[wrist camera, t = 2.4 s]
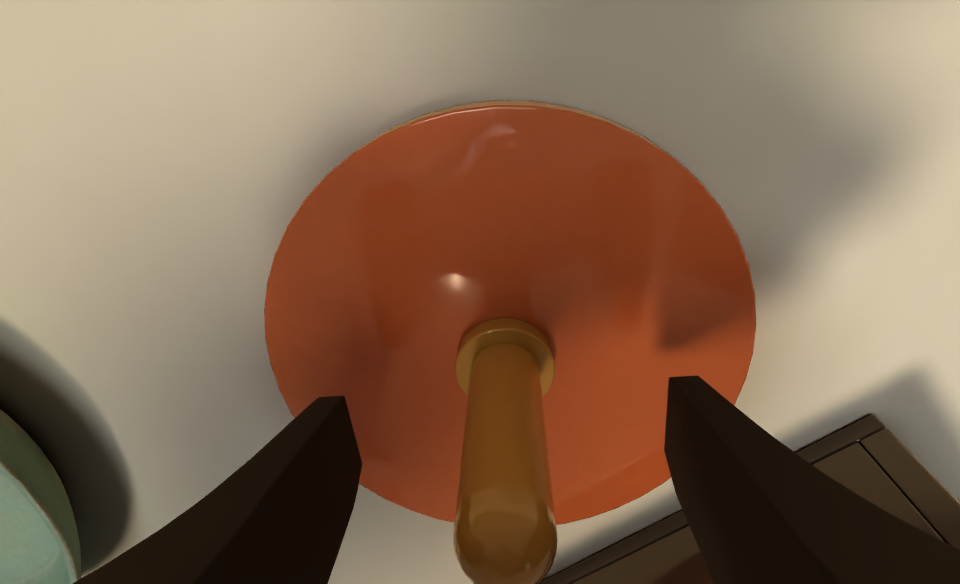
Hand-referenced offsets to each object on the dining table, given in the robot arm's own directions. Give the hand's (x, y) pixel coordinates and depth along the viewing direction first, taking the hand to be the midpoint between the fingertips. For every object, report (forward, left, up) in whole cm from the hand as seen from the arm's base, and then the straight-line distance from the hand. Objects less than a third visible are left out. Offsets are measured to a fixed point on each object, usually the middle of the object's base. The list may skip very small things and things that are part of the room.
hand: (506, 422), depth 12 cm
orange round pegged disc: (0, 0, -4) cm, 3 cm away
